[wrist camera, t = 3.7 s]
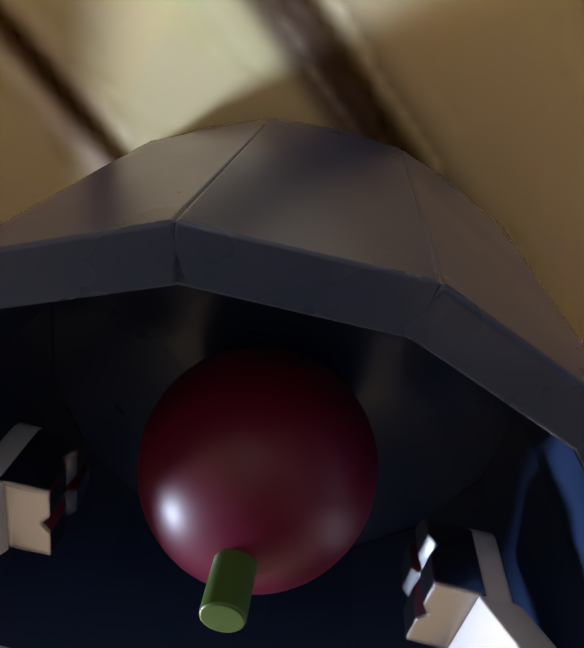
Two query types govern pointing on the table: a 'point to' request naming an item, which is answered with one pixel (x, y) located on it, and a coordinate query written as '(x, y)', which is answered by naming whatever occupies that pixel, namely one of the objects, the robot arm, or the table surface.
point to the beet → (256, 475)
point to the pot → (301, 336)
